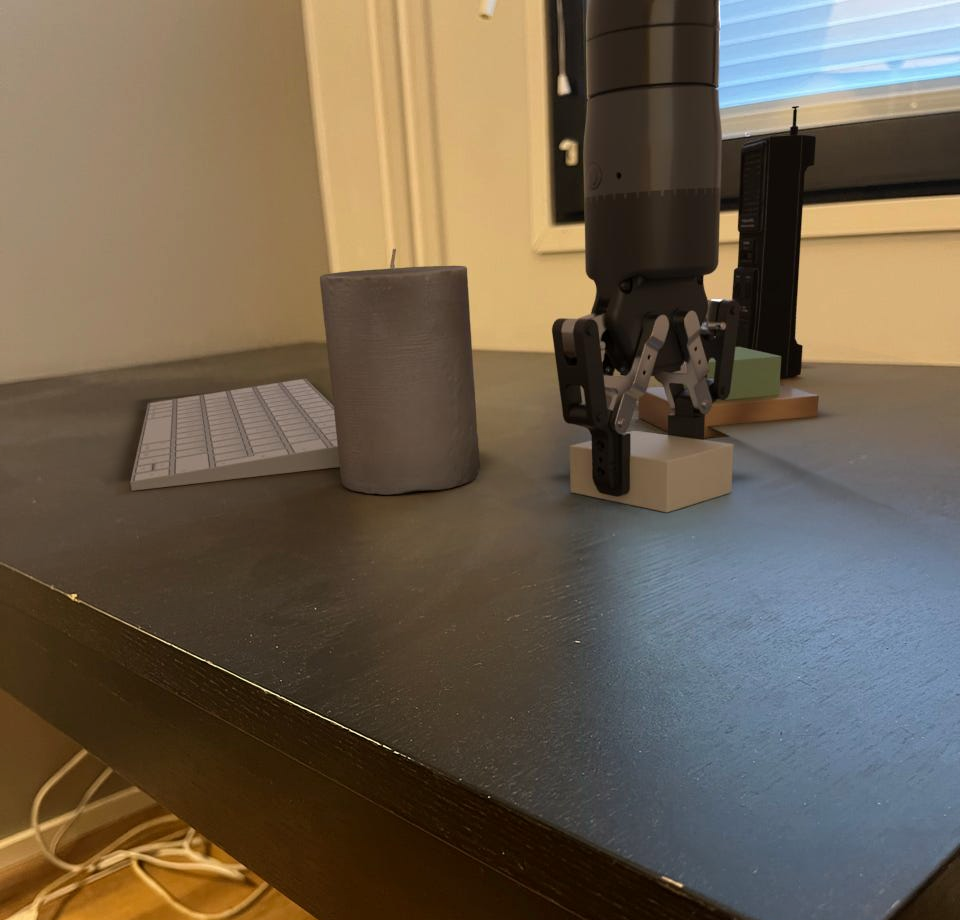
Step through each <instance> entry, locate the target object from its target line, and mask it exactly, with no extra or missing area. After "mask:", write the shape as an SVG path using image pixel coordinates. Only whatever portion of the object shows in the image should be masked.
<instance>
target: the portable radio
mask: <svg viewBox="0 0 960 920" xmlns="http://www.w3.org/2000/svg"><path fill="white" fill-rule="evenodd" d="M799 108H800V106H799V105H795V106H794V105H793V106H791V109H793V110H792V111H793V112H792V126H791V127H789V134H783V135H768V136H764V137H760V138H758V139H757V138H756V139H754V140H750V141H746V142H745V143H744V144H743V146H742V148H741V149H740V167H739V189H738V190H739V191H738V211H737V212H738V213H737V231H738V236H739V237H738V253H737V267H736V268H734V269H733V278H732V279H733V280H732V294H731V300H737V301H738V303H739V305H740V314H739V322H738V330H737V339H736V347H742V348H747V349H751V350H756V351H760V352H765V353H769V354H773V355H778V356H781V370H780V379H786V378H792V377H793V378H794V377H797V376H800V375H802V366H803V365H802V363H803V347H804V345H803V344H799V343H798V342H797V340H796V339H797V338H796V331H797V308H798V293H799V278H800V277H799V276H800V260H801V259H800V258H801V240H802V223H803V209H804V191H805V190H804V189H805V175H806V171H807V170H808V168H809V167H813V166H815V157H816V144H817V143H816V142H817V136H815V135H812V134H799V126H798V125H797V117H798V116H797V115H798V109H799Z"/></svg>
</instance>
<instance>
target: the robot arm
mask: <svg viewBox="0 0 960 920" xmlns="http://www.w3.org/2000/svg"><path fill="white" fill-rule="evenodd" d="M585 19H586V20H585V21H586V22H585V43H586V44H585V45H586V46H585V51H586V52H585V54H586V56H585V57H586V59H585V60H586V99H587V102H586V116H585V127H584V135H583V152H582V153H583V154H582V155H583V156H582V157H583V197H584V198H583V204H584V206H583V207H584V208H583V211H584V214H583V215H584V260H585V261H584V262H585V263H584V264H585V274H586V276H587V277H588V278H589V279H590V280H591V281H593V282H594V285H595V297H594V302H593V305H592V308H591V311H590V313H589V314H586V315H583V316H580V317H577V318H563V317H562V318H561V317H560V318H557V319H555V320H554V322H553V324H552V326H551V335H552V342H553V349H554V357H555V364H556V373H557V381H558V387H559V388H558V389H559V395H560V402H561V411H562V417H563V420H564V422H565V423H566V424H570V425H576V426H579V427H583V428H585V429H587V430H588V431H589V433H590V436H591V441H592V461H593V462H592V467H593V469H592V478H593V481H594V484H595V485H596V488H597V490H598V491H599V492H600V493H602V494H606V495H611V496H616V497H619V496H622V495H626V494H627V493H628V492H629V490H630V433H626V432H628V430H629V428H630V425H631V421H632V418H633V415H634V414H633V413H634V411H635V408H636V404H637V401H638V400H639V397H641V396H643V395H644V394H645V392H646V390H647V388H649V383H650V381H651V378H652V377H653V378H654V379H655V380H656V381H657V382H658V383H660V384H661V386H662V387H664V390H665V393H666V396H667V399H668V402H669V405H670V408H671V409H672V410H673V411H675V413H674V414H670V415H668V432H667V435H670V436H678V437H685V438H692V439H700V440H705V438H704V425H705V414H707V413H708V412H709V411H710V409H711V407H712V404H713V403H714V402H715V401H716V400H725V399H727V397H728V396H729V394H730V388H731V380H732V372H733V364H734V355H735V347H736V339H737V330H738V322H739V314H740V305H739V303H738V301H737V300H732V299H725V298H724V299H723V298H718V299H717V298H713V299H708V296H707V293H706V290H705V285H704V276H707V275H710V274H712V273H714V272H715V271H716V270H717V268H718V266H719V262H720V261H719V260H720V259H719V257H720V254H719V253H720V221H721V190H722V189H721V188H722V157H723V156H722V154H723V153H722V152H723V131H722V120H721V111H720V109H721V108H720V90H719V89H718V88H719V87H720V58H721V56H720V55H721V0H587V8H586V18H585ZM711 358H714V359H715V361H716V365H715V373H714V379H707V374H708V373H709V366H708V362H709V360H710V359H711ZM615 371H617V372H618V373H619V376H618V375H614V374H615ZM683 384H684V385H686V386H687V388H686V389H684V386H683ZM581 388H582V389H583V396H584V403H583V397H582V389H581ZM615 395H617V396H616V398H615V402H614V405H613V409H610V407H611V403H612V399H613V397H614V396H615Z"/></svg>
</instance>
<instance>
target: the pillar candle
mask: <svg viewBox="0 0 960 920" xmlns="http://www.w3.org/2000/svg"><path fill="white" fill-rule="evenodd" d="M396 253H397V249H396V248H393V249H392V253H391V259H390V264H389V268H382V269H381V268H377V269H365V270H364V269H363V270H349V271H340V272H339V271H338V272H333V273H332V272H331V273H326V274H322V275H320V276H319V286H320V294H321V303H322V313H323V314H322V315H323V323H324V330H325V341H326V349H327V350H326V351H327V358H328V359H327V360H328V368H329V377H330V385H331V386H330V388H331V395H332V405H333V406H334V415H335V425H336V434H337V445H338V453H339V463H340V467H339V471H340V479H341V485H342V486H343V487H344V488H345V489H347V490H350V491H353V492H358V493H364V494H372V495H376V494H377V495H387V496H388V495H389V496H390V495H401V494H407V493H414V492H426V491H427V492H428V491H441V490H448V489H453V488H455V487H460V486H463V485H465V484H468V483H470V482H472V481H473V480H474V479H477V476H478V475H479V470H480V468H481V462H480V449H479V435H478V423H477V422H478V421H477V408H476V407H477V405H476V404H477V403H476V389H475V377H474V376H475V374H474V362H473V361H474V359H473V345H472V343H473V342H472V329H471V327H472V325H471V316H470V314H471V311H470V310H471V309H470V296H469V280H468V279H469V278H468V267H467V266H465V265H433V266H431V265H430V266H429V265H428V266H425V265H424V266H408V267H407V266H406V267H396V265H395V260H396Z"/></svg>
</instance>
